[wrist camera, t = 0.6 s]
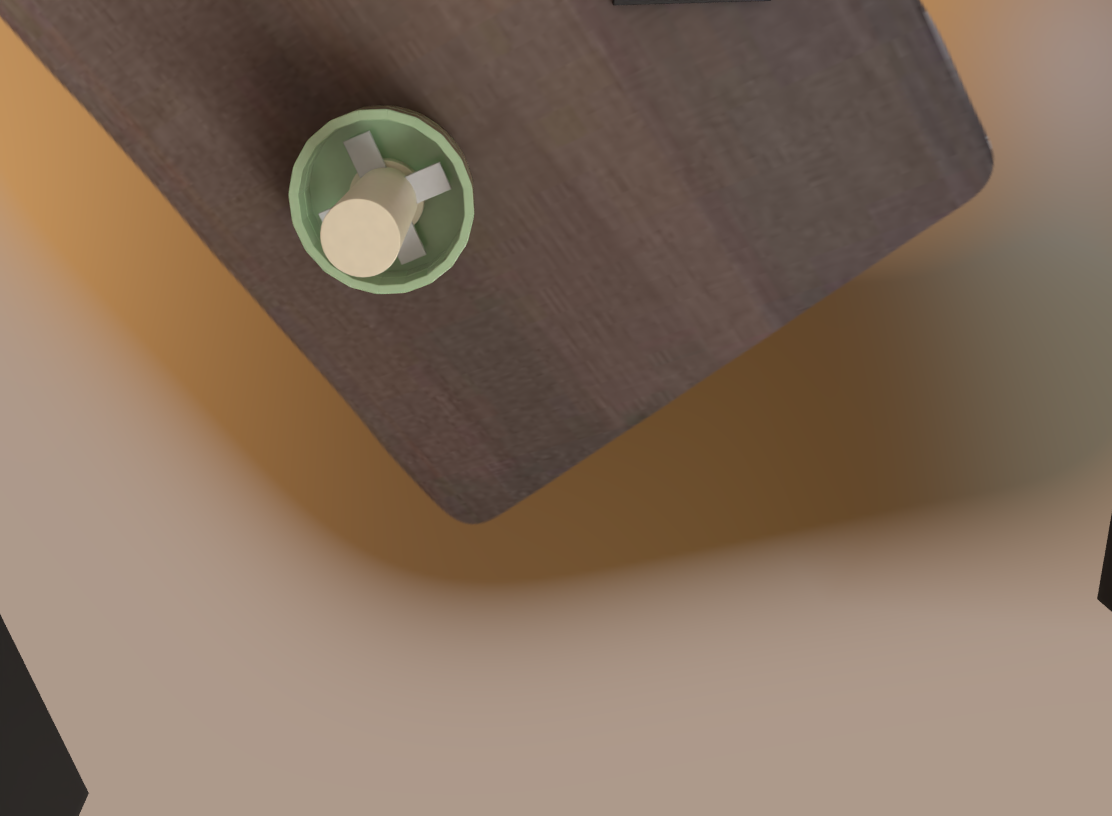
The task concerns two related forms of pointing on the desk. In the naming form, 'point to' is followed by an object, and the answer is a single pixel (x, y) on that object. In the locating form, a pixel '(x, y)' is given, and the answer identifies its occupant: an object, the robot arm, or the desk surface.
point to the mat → (671, 1)
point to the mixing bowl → (397, 136)
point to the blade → (378, 211)
